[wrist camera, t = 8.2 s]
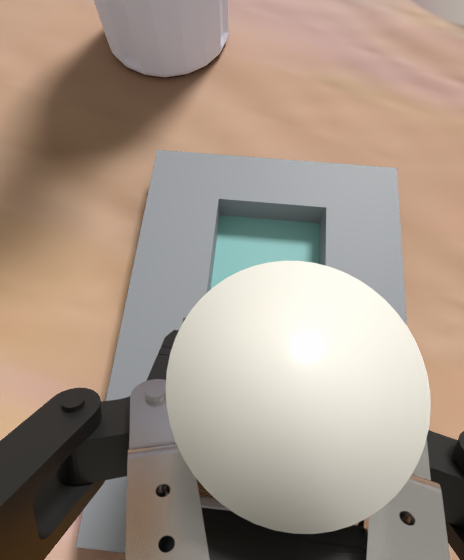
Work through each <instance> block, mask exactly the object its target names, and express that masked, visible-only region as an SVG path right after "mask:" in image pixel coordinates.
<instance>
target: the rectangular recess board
mask: <svg viewBox="0 0 464 560" xmlns="http://www.w3.org/2000/svg"><path fill="white" fill-rule="evenodd" d="M277 261H304V262H312V263H317V264H321V265H325V266H329V267H332V268H335V269H337V270H340V271H342V272H345V273H347V274H349V275H351V276H353V277H355V278H356V279H358V280H360V281H361V282H363V283H364V284H366V285H367V286H369V287H370V288H372V289H373V290H374V291H376V292H377V293H378V294H379V295H380V296H381V297H383V298H384V299H385V300H386V301H387V302H388V303H389V304H390V305H391V307H392V308H393V309H394V310H395V311H396V312H397V313H398V315H399V316H400V317H401V319H402V320H403V321H404V323H405V324H406V325H407V321H406V305H405V290H404V274H403V258H402V243H401V227H400V211H399V196H398V180H397V168H389V167H376V166H363V165H350V164H337V163H323V162H310V161H297V160H284V159H271V158H257V157H244V156H231V155H218V154H205V153H191V152H178V151H165V150H157V153H156V157H155V162H154V167H153V172H152V177H151V182H150V187H149V192H148V196H147V201H146V206H145V211H144V216H143V221H142V226H141V231H140V236H139V240H138V245H137V250H136V255H135V260H134V265H133V270H132V275H131V279H130V284H129V289H128V294H127V299H126V304H125V309H124V314H123V319H122V323H121V328H120V333H119V338H118V343H117V348H116V353H115V358H114V362H113V367H112V372H111V377H110V382H109V387H108V392H107V397H106V401H110V400H117V399H122V398H126V397H129V396H130V395H131V392H132V391H133V389H134V388H135V387H136V386H137V385H139V384H140V383H142V382H145V381H146V380H147V378H148V376H149V373H150V371H151V369H152V366H153V364H154V362H155V359H156V357H157V355H158V352H159V350H160V348H161V345H162V343H163V341H164V338H165V337H166V336H167V335H168V334H170V333H171V332H172V331H173V330H180V328H181V325H182V323H183V322H184V320H185V319H186V317H187V316H188V314H189V313H190V311H191V310H192V308H193V307H194V306H195V305H196V304H197V303H198V301H199V300H200V299H201V298H202V297H203V296H204V295H205V294H206V293H207V292H208V291H210V290H211V289H212V288H213V287H214V286H216V285H217V284H218V283H220V282H221V281H223V280H224V279H226V278H227V277H229V276H231V275H233V274H235V273H237V272H239V271H241V270H244V269H247V268H249V267H252V266H255V265H260V264H264V263H268V262H277ZM200 503H201V508H210V509H219V510H228V511H231V510H229V509H228V508H226V507H225V506H224V505H222V504H221V503H220V502H219V501H217V500H216V499H215V498H210V497H201V496H200ZM126 506H127V476H126V477H120V478H115V479H110V480H105V482H104V484H103V485H102V487H101V488H100V489H99V490H98V492H97V493H96V494H95V495H94V497H93V498H92V499H91V501H90V502H89V503H88V504H87V506H86V507H85V508H84V509H83V514H82V519H81V524H80V529H79V533H78V538H77V543H76V547H79V548H87V549H95V550H104V551H112V552H120V553H125V551H126Z"/></svg>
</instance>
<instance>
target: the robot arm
mask: <svg viewBox="0 0 464 560" xmlns="http://www.w3.org/2000/svg"><path fill="white" fill-rule="evenodd" d="M178 332H179V330H173V331H172V332H171V333H170V334H168V335H167V336H166V337H165V338H164V341H163V343H162V345H161V348H160V350H159V352H158V355H157V357H156V359H155V362H154V364H153V366H152V369H151V371H150V373H149V376H148V378H147V380H146V381H145V382H142V383H140V384H139V385H137V386H136V387H135V388H134V389H133V391H132V392H131V395H130V396H129V397H126V398H122V399H117V400H110V401H102V402H101V401H100V397H99V395H98V394H97V393H96V392H95V391H93V390H91V389H87V388H74V389H69V390H66V391H63V392H61V393H59V394H57V395H56V396H54V397H53V398H52V399H51V400H49V401H48V402H47V403H46V404H44V405H43V406H42V407H41V408H40V409H38V410H37V411H36V412H35V413H34V414H32V415H31V416H30V417H29V418H28V419H26V420H25V421H24V422H23V423H21V424H20V425H19V426H18V427H17V428H15V429H14V430H13V431H12V432H11V433H9V434H8V435H7V436H6V437H5V438H3V439H2V440H1V441H0V560H44V559H45V558H46V556H47V555H48V554H49V553H50V551H51V550H52V549H53V548H54V546H55V545H56V544H57V542H58V541H59V540H60V539H61V537H62V536H63V535H64V534H65V532H66V531H67V530H68V528H69V527H70V526H71V525H72V523H73V522H74V521H75V520H76V518H77V517H78V516H79V515H80V513H81V512H82V511H83V509H84V508H85V507H86V506H87V504H88V503H89V502H90V501H91V499H92V498H93V497H94V495H95V494H96V493H97V492H98V490H99V489H100V488H101V487H102V485H103V484H104V482H105V480H110V479H115V478H120V477H126V476H127V506H126V551H125V560H450V555H449V547H448V543H449V544H450V546H451V547H452V549H453V550H454V552H455V553H456V554H457V556H458V557H459V559H460V560H464V431H463V432H462V433H461V434H460V436H459V439H458V440H455V439H452V438H449V437H446V436H443V435H440V434H437V433H434V432H432V431H430V430H428V434H427V438H426V442H425V446H424V449H423V452H422V454H421V457H420V459H419V462H418V464H417V466H416V468H415V469H414V471H413V473H412V475H411V476H410V478H409V480H408V481H407V482H406V484H405V485H404V486H403V488H402V489H401V490H400V491H399V493H398V494H397V495H396V496H395V497H394V498H393V499H392V500H391V501H390V502H388V503H387V504H386V505H385V506H384V507H383V508H382V509H380V510H379V511H377V512H376V513H374V514H373V515H371V516H370V517H368V518H367V519H364V520H362V521H360V522H358V523H356V524H354V525H352V526H349V527H346V528H342V529H339V530H336V531H332V532H325V533H317V534H293V533H287V532H281V531H275V530H272V529H269V528H266V527H263V526H260V525H257V524H254V523H252V522H250V521H248V520H246V519H244V518H242V517H240V516H238V515H237V514H235V513H234V512H232V511H228V510H219V509H210V508H201V503H200V496H199V490H198V484H197V479H196V477H195V476H194V475H193V473H192V472H191V470H190V468H189V467H188V465H187V464H186V462H185V461H184V459H183V457H182V455H181V453H180V450H179V448H178V446H177V444H176V442H175V439H174V436H173V432H172V429H171V426H170V422H169V417H168V411H167V406H166V374H167V367H168V362H169V357H170V353H171V350H172V347H173V344H174V341H175V338H176V336H177V334H178Z"/></svg>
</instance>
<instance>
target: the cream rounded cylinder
mask: <svg viewBox="0 0 464 560" xmlns="http://www.w3.org/2000/svg"><path fill="white" fill-rule="evenodd" d="M166 406H167V411H168V417H169V422H170V426H171V429H172V432H173V436H174V439H175V442H176V444H177V446H178V448H179V450H180V453H181V455H182V457H183V459H184V461H185V462H186V464H187V465H188V467H189V468H190V470H191V472H192V473H193V475H194V476H195V477H196V479H197V480H198V481H199V482H200V483H201V484H202V486H203V487H204V488H205V489H206V490H207V491H208V492H209V493H210V494H211V495H212V496H213V497H214V498H215V499H216V500H217V501H219V502H220V503H221V504H222V505H224V506H225V507H226V508H228V509H229V510H231V511H232V512H234V513H235V514H237V515H238V516H240V517H242V518H244V519H246V520H248V521H250V522H252V523H254V524H257V525H260V526H263V527H266V528H269V529H272V530H275V531H281V532H287V533H293V534H317V533H325V532H332V531H336V530H339V529H342V528H346V527H349V526H352V525H354V524H356V523H358V522H360V521H362V520H364V519H367V518H368V517H370V516H371V515H373V514H374V513H376V512H377V511H379V510H380V509H382V508H383V507H384V506H385V505H386V504H387V503H388V502H390V501H391V500H392V499H393V498H394V497H395V496H396V495H397V494H398V493H399V491H400V490H401V489H402V488H403V486H404V485H405V484H406V482H407V481H408V480H409V478H410V476H411V475H412V473H413V471H414V469H415V468H416V466H417V464H418V462H419V459H420V457H421V454H422V452H423V449H424V446H425V442H426V438H427V434H428V430H429V422H430V411H431V406H430V389H429V382H428V376H427V372H426V368H425V365H424V361H423V358H422V355H421V353H420V351H419V348H418V346H417V344H416V341H415V339H414V338H413V336H412V334H411V332H410V331H409V329H408V327H407V325H406V324H405V323H404V321H403V320H402V319H401V317H400V316H399V315H398V313H397V312H396V311H395V310H394V309H393V308H392V307H391V305H390V304H389V303H388V302H387V301H386V300H385V299H384V298H383V297H381V296H380V295H379V294H378V293H377V292H376V291H374V290H373V289H372V288H370V287H369V286H367V285H366V284H364V283H363V282H361V281H360V280H358V279H356V278H355V277H353V276H351V275H349V274H347V273H345V272H342V271H340V270H337V269H335V268H332V267H329V266H325V265H321V264H317V263H312V262H304V261H277V262H268V263H264V264H260V265H255V266H252V267H249V268H247V269H244V270H241V271H239V272H237V273H235V274H233V275H231V276H229V277H227V278H226V279H224V280H223V281H221V282H220V283H218V284H217V285H216V286H214V287H213V288H212V289H211V290H210V291H208V292H207V293H206V294H205V295H204V296H203V297H202V298H201V299H200V300H199V301H198V303H197V304H196V305H195V306H194V307H193V308H192V310H191V311H190V313H189V314H188V316H187V317H186V319H185V320H184V322H183V323H182V325H181V328H180V330H179V332H178V334H177V336H176V338H175V341H174V344H173V347H172V350H171V353H170V357H169V362H168V367H167V374H166Z"/></svg>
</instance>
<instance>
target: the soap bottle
mask: <svg viewBox="0 0 464 560" xmlns="http://www.w3.org/2000/svg"><path fill="white" fill-rule="evenodd" d="M94 2H95V5H96V8H97V11H98V14H99V17H100V20H101V23H102V26H103V29H104V32H105V35H106V38H107V41H108V44H109V46H110V49H111V52H112V53H113V54H114V55H115V56H116V57H117V58H118V59H119V60H120V61H121V62H122V63H123V64H124V65H125V66H126V67H128V68H130V69H132V70H135V71H137V72H139V73H142V74H144V75H151V76H160V77H170V76H177V75H184V74H188V73H191V72H193V71H195V70H198V69H200V68H202V67H204V66H206V65H207V64H209V63H210V62H211V61H212V60H213V59H214V58H215V57H217V56H218V55H219V54H220V52H221V50H222V48H223V46H224V44H225V42H226V40H227V38H228V0H94Z"/></svg>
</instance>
